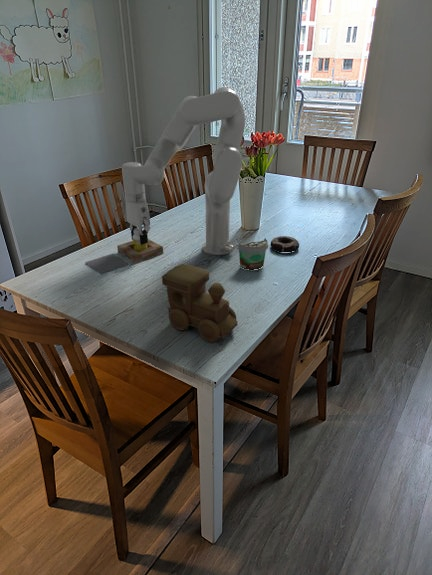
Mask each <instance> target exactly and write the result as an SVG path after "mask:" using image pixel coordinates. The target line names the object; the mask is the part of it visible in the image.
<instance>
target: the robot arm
mask: <svg viewBox="0 0 432 575" xmlns="http://www.w3.org/2000/svg"><path fill="white" fill-rule="evenodd" d="M217 121H220V127H219V134H218V136H217V141H216V145H215V147H214V151H213V156H212V159H213V162H214V166H213V170H212V171H211V172H209V173H208V174H207V176H206V177H205V181H204V197H205V200H204V201H205V243H204V244H202V246H201V247H202V248H201V250H202V252H204V253H205V254H208V255H212V256H225V255H228V254H232V253H233V252H234V250H235V246H234V245H233V244H232V241H231V240H230V222H231V221H230V219H231V218H230V216H231V215H230V214H231V200H232V198H233V197H234V195H235V191H236V188H237V185H238V182H239V178H240V174H241V172H242V166H243V156H242V154H241V152H240V149H241V145H242V142H243V137H244V132H245V127H246V114H245V110H244V106H243V104H242V102H241V100H240V97H239V94H238V93H237V92H236V91H234V90H233V89H232V88H229V87H227V86H221V87H218V88H217V89H216V90H215V91H214V92H213V93H211V94H206V95H201V96H195V95H188V96H186V97H185V98H184V99H183V100H181V102H180V104H179V105H178V107H177V109H176V110H175V112H174V113H173V115H172V118H171V119H170V121H169V122H168V123H167V126H166V128H165V129H164V131H163V132H162V134H161V136H160V138H159V140H158V141H157V142H156V144H155V146H153V149H152V151H151V152H150V154H149V156H148V158H147V159H146V161H145V163H144V165H142V164H141V163H140V162H138V161H137V162H135V161H130V162H125V163H123V164H122V165H121V174H122V183H123V191H124V199H125V215H126V219H125V220H126V221H127V223H128V226H129V230H130V235H131V241H133V235H134V231H133V230H134V229H135V228H139V231H140V234H141V235H140V244H141V245H143V244H146V243H148V239H149V237H148V234H149V231H150V230H151V217H150V211H149V206H148V203H147V201H146V191H145V185H149V186H157V185H160V184H161V183H162V182H163V180H164V178H165V170H166V168H167V166H168V165H169V163H170V162H171V160H172V159H173V157H174V155H175V154H176V153H177V152H179V151H180V150H182V149H183V148H184V147H185V145H186V144H187V142H188V141H189V138H190V137H191V136H192V134H193V132H194V130H195V129H196V128H197V126H201V125H206V124H210V123H213V122H214V123H215V122H217ZM142 228H143V229H144V230H143V231H142Z"/></svg>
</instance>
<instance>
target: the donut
mask: <svg viewBox="0 0 432 575" xmlns="http://www.w3.org/2000/svg"><path fill="white" fill-rule="evenodd" d="M270 247H271V249H272V250H273V249H274V250H276V251H279V252H292V251H295V252H297V251H299V248H300V242H299V240H298V239H296V238H295V237H293V236H287V235H282V236H281V235H280V236H276V237H273V239H272V240H271V241H270ZM274 250H273V251H274ZM296 250H297V251H296ZM276 251H275V252H276ZM279 252H278V253H279Z"/></svg>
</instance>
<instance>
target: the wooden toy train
mask: <svg viewBox="0 0 432 575" xmlns="http://www.w3.org/2000/svg"><path fill="white" fill-rule="evenodd" d="M161 280H162V286H165V287H166V293H167V299H168V300H167V301H168V304H169V307H168V319H169V322H170V323H171V325H172V327H173V328H175V329H177V330H178V331H185V330H187V329H188V328H189V327H190V326H191V327H193V328H196V329H197V330H198V332H199V335H200V337H201V338H202V339H203V340H205V341H206V342H208V343H215V342H217V341H219V339H220V338H222V339H225V337H226V336H228V335H229V334H230V333H231V331H233V330H234V329H235V328H236V327H237V326H238V320H237V314H236V312H235V310H234V309H233V308H232V307H231V306H230V301H229V300H227V299H225V298H223V297H224V295H225V293H226V290H225V287H224V286H223V285H222V284H221V283H220V282H214V283H212V284H211V286H210V287H209V288H208V290H207V292H208V293H206V287H207V286H206V285H207V284H206V283H207V282H208V281H209V280H210V271H208V270H206V269H204V268H202V267H198V266H195V265H191V264H188V263H180V264H179V265H176V266H174V267H173V268H171V269H169V270H168V271H167V272H165V273H164V274H162V276H161Z"/></svg>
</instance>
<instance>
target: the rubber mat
mask: <svg viewBox="0 0 432 575" xmlns="http://www.w3.org/2000/svg"><path fill="white" fill-rule="evenodd" d="M85 264H86V265H87V266H89V267H90V268H91V269H93V270H94V271H95V272H97V273H98V274H100V275H103V274H107V273H109V272H112V271H115V270H117V269H120V268H124V267H127V266H128V265H129V266H130V262H128V261H126V260H125V259H123V258H121V257H120V256H118V255H117V254H115V253H110V254H107V255H104V256H101V257H98V258H94V259H91V260H88V261H85Z"/></svg>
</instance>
